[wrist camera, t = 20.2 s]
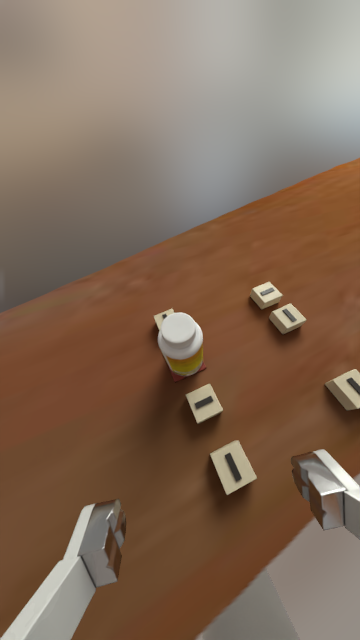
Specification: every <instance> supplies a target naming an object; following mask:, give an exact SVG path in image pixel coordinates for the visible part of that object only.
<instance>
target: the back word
mask: <svg viewBox="0 0 360 640" xmlns="http://www.w3.org/2000/svg"><path fill="white" fill-rule="evenodd" d="M282 296H283V295H282V294H281V293H280V292H279V291H278V290H277V289H276V288H275V287H274V286H273V285H272V284H271V283H270V282H268V283H265V284H263V285H260V286H258V287H255V288H253V289H252V291H251V294H250V297H251V298H252V299H253V300H254V301H255V302H256V304H257V305H258V306H259V307H260V308H261V309H264V308H267V307H269V306H271V305H274V304H276V303H278V302H279V301H280V299H281V297H282ZM269 319H270V320H271V321H272V322H273V324H274V325H275V326H276V327H277V328H278V330H279V331H280V332H281V333H282V334H285V333H287V332H289V331H292V330H294V329H296V328H298V327H300V326H302V325H303V323H304V322H305V321H306V319H305V318H304V317H303V315H302V314H301V313H300V312H299V311H298V310H297V309H296V308H295V307H294V306H293V305H292V304H288V305H286V306H284V307H281V308H279V309H277V310H275V311H272V313H271V315H270V316H269ZM325 385H326V386H327V388H328V389H329V390H330V391H331V392H332V394H333V395H334V396H335V397H336V398H337V399H338V401H339V402H340V403H341V404H342V405H343V407H344V408H345V409H346V410H353V409H358V408H360V373H359V372H358V371H357V370H356V369H354V370H351V371H349V372H347V373H344V374H343V375H341V376H339V377H337V378H335V379H333V380H331V381H329V382H327V383H325Z"/></svg>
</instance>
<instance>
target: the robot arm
mask: <svg viewBox="0 0 360 640" xmlns="http://www.w3.org/2000/svg"><path fill="white" fill-rule="evenodd" d="M291 464H292V465H293V467H294V468H293V470H292V475H293V479H294V482H295V484H296V486H297V488H298V490H299V492H300V493H301V495H302V497H303V498H305V499H306V500H307V501H309V502H310V508H311V511H312V513H313V514H314V516H315V517H316V519H317V521H318V522H319V524H320V525H321V527H322V529H323V530H328V529H332V528H337V527H342V526H345V528H346V529H347V530H349V531H350V532H351V533H353V534H354V535H355V536H356V537H357V538H358V539H360V486H359V485H358V484H357V483H356V482H355V481H354V480H353V479H352V478H351V477H350V476H349V475H348V474H347V472H346V471H345V470H344V469H343V468H342V467H341V466H340V465H339V464H338V463H337V462H336V461H335V460H334V459H333V458H332V457H331V456H330V455H329V453H328V452H327V451H325V450H323V449H322V450H318V451H314V452H308V453H304V454H301V455H297V456H293V457H291ZM120 507H121V502H120V500H119V499H115V500H110V501H106V502H101V503H96V504H92V505H88V506H85V507H84V508H83V510H82V511H81V514H80V516H79V519H78V521H77V524H76V527H75V529H74V532H73V535H72V537H71V540H70V542H69V545H68V548H67V550H66V553H65V556H64V558H63V560H61V561H59V562H58V563H57V565H56V566H55V567H54V569H53V570H52V571H51V573H50V574H49V575H48V577H47V578H46V579H45V580H44V582H43V583H42V584H41V586H40V587H39V588H38V590H37V591H36V592H35V594H34V595H33V596H32V598H31V599H30V600H29V602H28V603H27V604H26V606H25V607H24V608H23V610H22V611H21V612H20V614H19V615H18V616H17V618H16V619H15V620H14V622H13V623H12V624H11V626H10V627H9V628H8V630H7V631H6V632H5V634H4V635H3V636H2V638H1V639H0V640H71V638H72V636H73V634H74V632H75V630H76V628H77V626H78V624H79V622H80V620H81V618H82V616H83V614H84V612H85V610H86V608H87V606H88V604H89V602H90V600H91V598H92V596H93V595H94V593H95V591H96V587H100V586H103V585H107V584H110V583H114V582H117V581H118V575H119V570H120V564H121V558H122V555H121V552H120V547H121V546H122V544H123V542H124V540H125V534H126V516H125V513H124V511H123V510H121V509H120Z"/></svg>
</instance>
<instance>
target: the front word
mask: <svg viewBox="0 0 360 640" xmlns="http://www.w3.org/2000/svg"><path fill="white" fill-rule="evenodd" d="M173 313H174V311H173V309H170V310H168V311H165V312H163V313H160V314H158V315H155V316H154V319H155V321H156V324H157V326H158V329H159V331H160V329H161V324H162V322H163V320H164V319H165V318H166V317H167V316H169V315H170V314H173ZM168 367H169V366H168ZM205 368H206V367H205V365H204V363H203V362H202V365H201V367H200V369H199V370H198V371H197V372H199V371H201V370H203V369H205ZM169 369H170V367H169ZM170 372H171V374H172V377H173V379H174V382H177V381H179V380H181V379H184V378H186V377H188V376H180V375H177V374H176V373H174V372H173V371H172V370H171V369H170ZM197 372H196V373H197ZM194 374H195V373H194ZM189 376H190V375H189ZM186 397H187V399H188V402H189V404H190V407H191V409H192V412H193V414H194V416H195V419H196V421H197V424H199V423H201V422H203V421H205V420H207V419H209V418H211V417H213V416H215V415H217V414H219V413H221V412H222V411H223V409H222V407H221V405H220V403H219V401H218V399H217V397H216V395H215V393H214V391H213V389H212V387H211V385H210V384H208V385H206V386H203V387H201V388H199V389H197V390H195V391H193V392H191V393H188V394H186ZM210 456H211V458H212V460H213V463H214V465H215V468H216V470H217V473H218V475H219V478H220V480H221V482H222V485H223V487H224V490H225V492H226V495H228V494H230V493H232V492H234V491H235V490H237V489H239V488H241V487H243V486H244V485H246V484H248V483H250V482H252V481H253V480H255V479H257V477H256V475H255V473H254V471H253V469H252V467H251V465H250V463H249V461H248V459H247V457H246V455H245V453H244V451H243V449H242V447H241V445H240V443H239V441H237V440H235V441H233V442H231V443H229V444H227V445H225V446H224V447H222V448H220V449H218V450H216V451H214V452H212V453H210Z"/></svg>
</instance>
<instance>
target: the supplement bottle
mask: <svg viewBox="0 0 360 640" xmlns="http://www.w3.org/2000/svg"><path fill="white" fill-rule="evenodd" d="M158 345H159V347H160V350H161V352H162V354H163V356H164V358H165V360H166V362H167V364H168V366H169V367H170V369H171V370H172V371H173V372H174V373H176V374H177V375H180V376H189V375H192V374H194V373H196V372H197V371H198V370H199V369H200V367H201V365H202V362H203V334H202V331H201V328H200V327H199V325H198V324H197V323H196V322H194V320H193V319H192V317H191V316H189V315H187V314H185V313H173V314H170V315H169V316H167V317H166V318H165V319H164V320H163V322H162V324H161V329H160V331H159V334H158Z"/></svg>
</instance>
